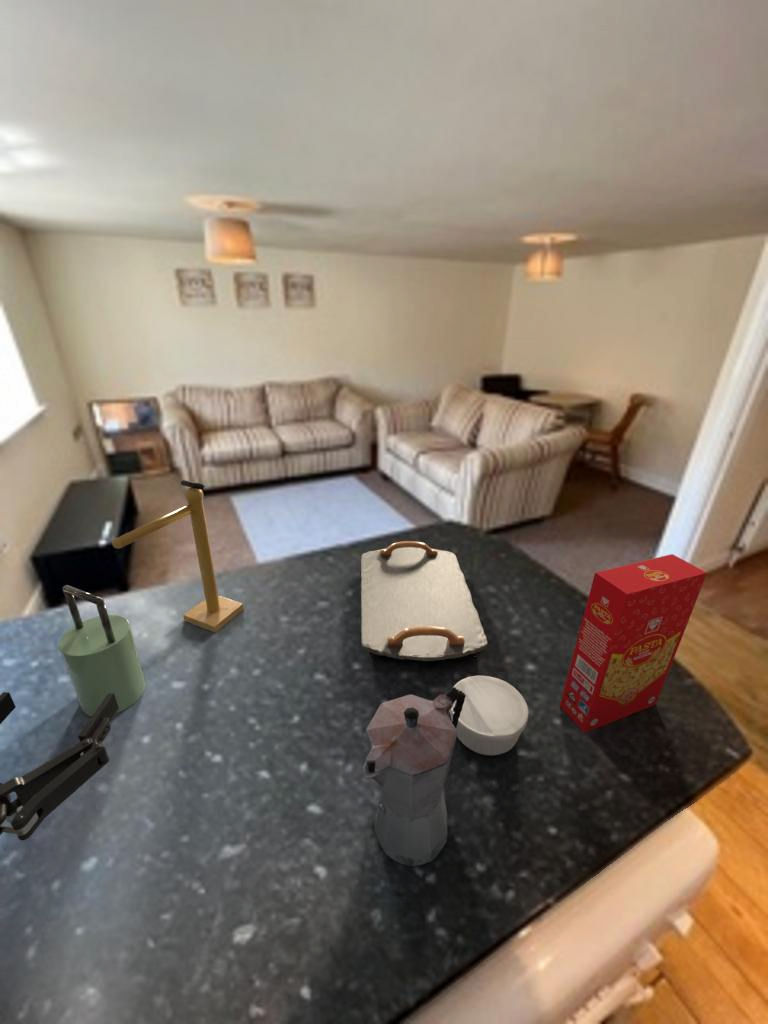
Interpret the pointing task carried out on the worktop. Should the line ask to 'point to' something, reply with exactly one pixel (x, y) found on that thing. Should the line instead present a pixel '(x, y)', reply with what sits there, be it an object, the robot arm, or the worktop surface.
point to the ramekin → (490, 715)
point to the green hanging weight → (101, 656)
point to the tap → (214, 607)
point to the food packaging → (629, 638)
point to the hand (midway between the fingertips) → (61, 699)
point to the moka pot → (412, 773)
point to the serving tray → (417, 605)
